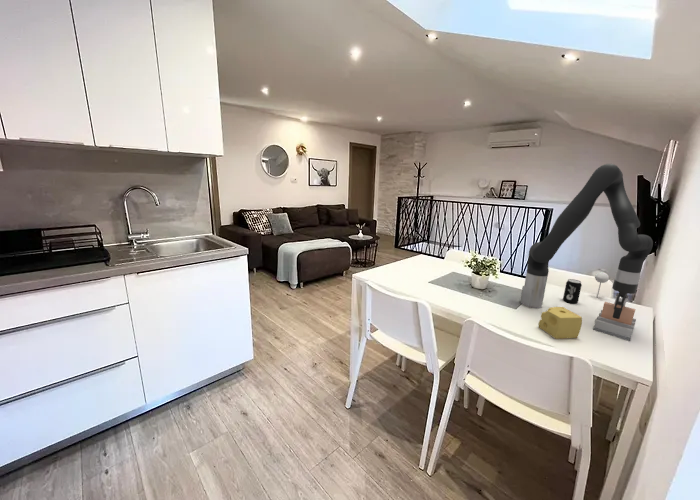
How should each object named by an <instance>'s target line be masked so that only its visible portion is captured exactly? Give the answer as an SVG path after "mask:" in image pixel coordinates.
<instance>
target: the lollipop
mask: <svg viewBox="0 0 700 500" xmlns="http://www.w3.org/2000/svg"><path fill="white" fill-rule="evenodd" d="M594 280H595V281H596V282H598V283H599V285H598V290H597V294H596V299H598V298H599V294H600V293H599V292H600V288H601V284H604V283H605V284H606V283H607V282H608V281H609V280H610V276H609V274H608V273H606V272H603V271H602V272H601V271H600V272H597V273H596V274H595V275H594Z"/></svg>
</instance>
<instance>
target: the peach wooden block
mask: <svg viewBox="0 0 700 500" xmlns="http://www.w3.org/2000/svg"><path fill="white" fill-rule="evenodd" d="M614 307H615V304H614V303H613V302H609V301H604V303H603V306H602V309H601V310H602V314H601V317H603V318H607V319H610V320H614V321H617V322H621V323H625V324H628V325H631V324H632V320H633V318H634V316H635V312H636V309H635V308H632V307H629V306H625V307H623V310H622V311H621V315H620V318H619V319H616V318H613V313H614ZM617 307H618V308H621V306H618V305H617Z"/></svg>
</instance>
